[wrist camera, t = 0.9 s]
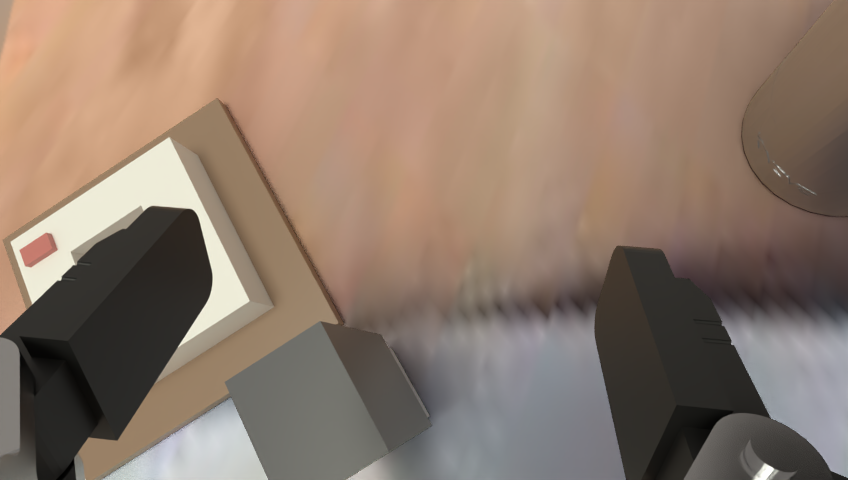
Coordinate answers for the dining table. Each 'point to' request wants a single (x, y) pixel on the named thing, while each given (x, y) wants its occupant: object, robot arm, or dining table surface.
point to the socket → (229, 258)
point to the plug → (327, 404)
